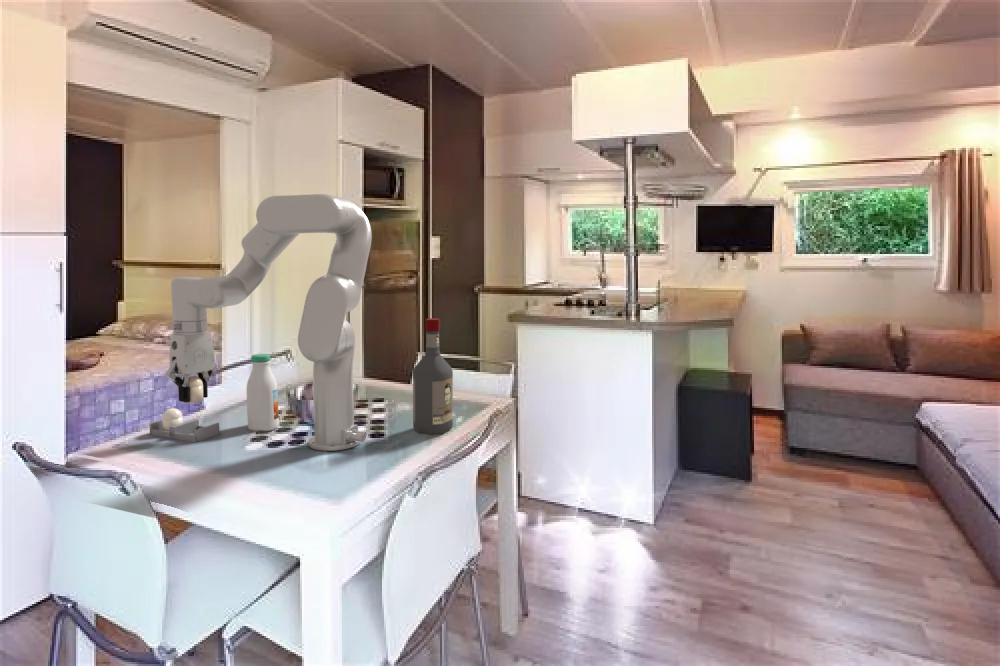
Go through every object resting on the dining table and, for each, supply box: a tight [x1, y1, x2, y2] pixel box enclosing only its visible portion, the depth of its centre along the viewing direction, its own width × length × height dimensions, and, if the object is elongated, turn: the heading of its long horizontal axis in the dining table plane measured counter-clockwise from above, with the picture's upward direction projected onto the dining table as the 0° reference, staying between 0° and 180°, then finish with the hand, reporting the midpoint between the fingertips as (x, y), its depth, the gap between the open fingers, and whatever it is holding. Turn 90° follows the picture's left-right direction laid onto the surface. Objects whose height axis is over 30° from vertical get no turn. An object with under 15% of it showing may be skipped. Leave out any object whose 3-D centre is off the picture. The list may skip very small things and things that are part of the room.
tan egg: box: [183, 375, 205, 404], centre depth 152 cm, size 5×5×6 cm
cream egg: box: [161, 407, 184, 432], centre depth 156 cm, size 5×5×6 cm
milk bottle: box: [246, 353, 280, 432], centre depth 162 cm, size 8×8×20 cm
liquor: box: [412, 317, 454, 436], centre depth 162 cm, size 9×9×30 cm
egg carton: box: [148, 418, 220, 443], centre depth 155 cm, size 15×7×4 cm, turn 69°
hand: (193, 398), depth 153 cm, fingers closed on tan egg, 4 cm apart
